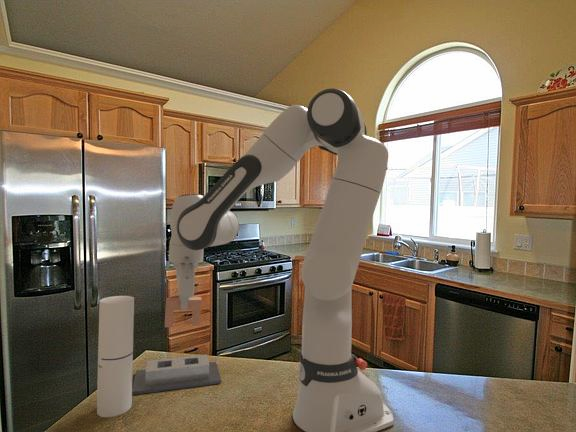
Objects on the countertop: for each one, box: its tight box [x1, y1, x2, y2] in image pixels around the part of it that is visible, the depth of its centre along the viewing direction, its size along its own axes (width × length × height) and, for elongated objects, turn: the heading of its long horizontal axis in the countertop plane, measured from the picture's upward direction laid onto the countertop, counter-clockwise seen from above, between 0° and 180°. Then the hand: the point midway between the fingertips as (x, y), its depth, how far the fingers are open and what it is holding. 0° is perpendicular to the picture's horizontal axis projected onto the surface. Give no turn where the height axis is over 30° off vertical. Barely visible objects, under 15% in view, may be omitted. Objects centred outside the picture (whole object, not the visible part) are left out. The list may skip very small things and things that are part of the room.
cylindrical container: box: [96, 295, 135, 418], centre depth 78 cm, size 7×7×25 cm
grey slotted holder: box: [132, 354, 222, 396], centre depth 93 cm, size 22×12×4 cm, turn 109°
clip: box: [164, 296, 203, 328], centre depth 91 cm, size 9×3×7 cm, turn 109°
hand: (183, 306), depth 91 cm, fingers closed on clip, 3 cm apart
